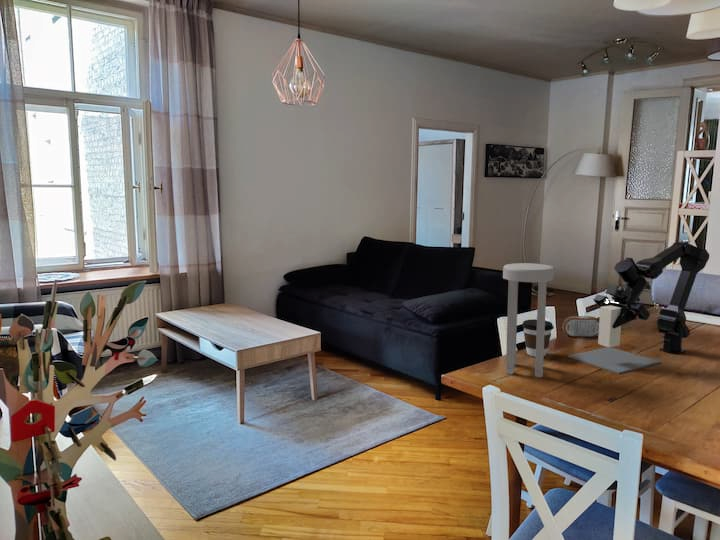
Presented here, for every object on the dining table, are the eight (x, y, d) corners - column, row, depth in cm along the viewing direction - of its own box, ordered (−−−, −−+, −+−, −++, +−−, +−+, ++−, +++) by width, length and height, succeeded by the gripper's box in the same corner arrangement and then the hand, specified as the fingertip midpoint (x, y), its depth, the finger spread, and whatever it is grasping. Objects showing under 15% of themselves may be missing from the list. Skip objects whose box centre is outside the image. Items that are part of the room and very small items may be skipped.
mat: (608, 348, 198) (608, 346, 198) (659, 362, 180) (660, 361, 180) (567, 357, 187) (567, 355, 187) (618, 374, 170) (618, 372, 170)
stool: (498, 375, 170) (501, 268, 165) (503, 360, 185) (505, 262, 180) (549, 380, 165) (553, 270, 160) (549, 365, 179) (554, 263, 174)
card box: (608, 341, 182) (611, 305, 180) (619, 345, 178) (622, 308, 176) (598, 343, 180) (600, 306, 178) (608, 347, 176) (611, 309, 174)
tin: (599, 335, 215) (600, 315, 214) (602, 338, 212) (603, 317, 211) (561, 335, 216) (562, 315, 215) (563, 337, 213) (564, 317, 212)
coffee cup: (553, 352, 194) (555, 320, 192) (550, 361, 184) (552, 327, 182) (523, 348, 198) (524, 317, 197) (518, 357, 189) (519, 324, 187)
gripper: (598, 272, 186) (573, 306, 183) (646, 280, 169) (619, 317, 166) (613, 292, 190) (589, 325, 187) (661, 301, 173) (635, 338, 170)
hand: (607, 326), depth 178 cm, fingers closed on card box, 4 cm apart
